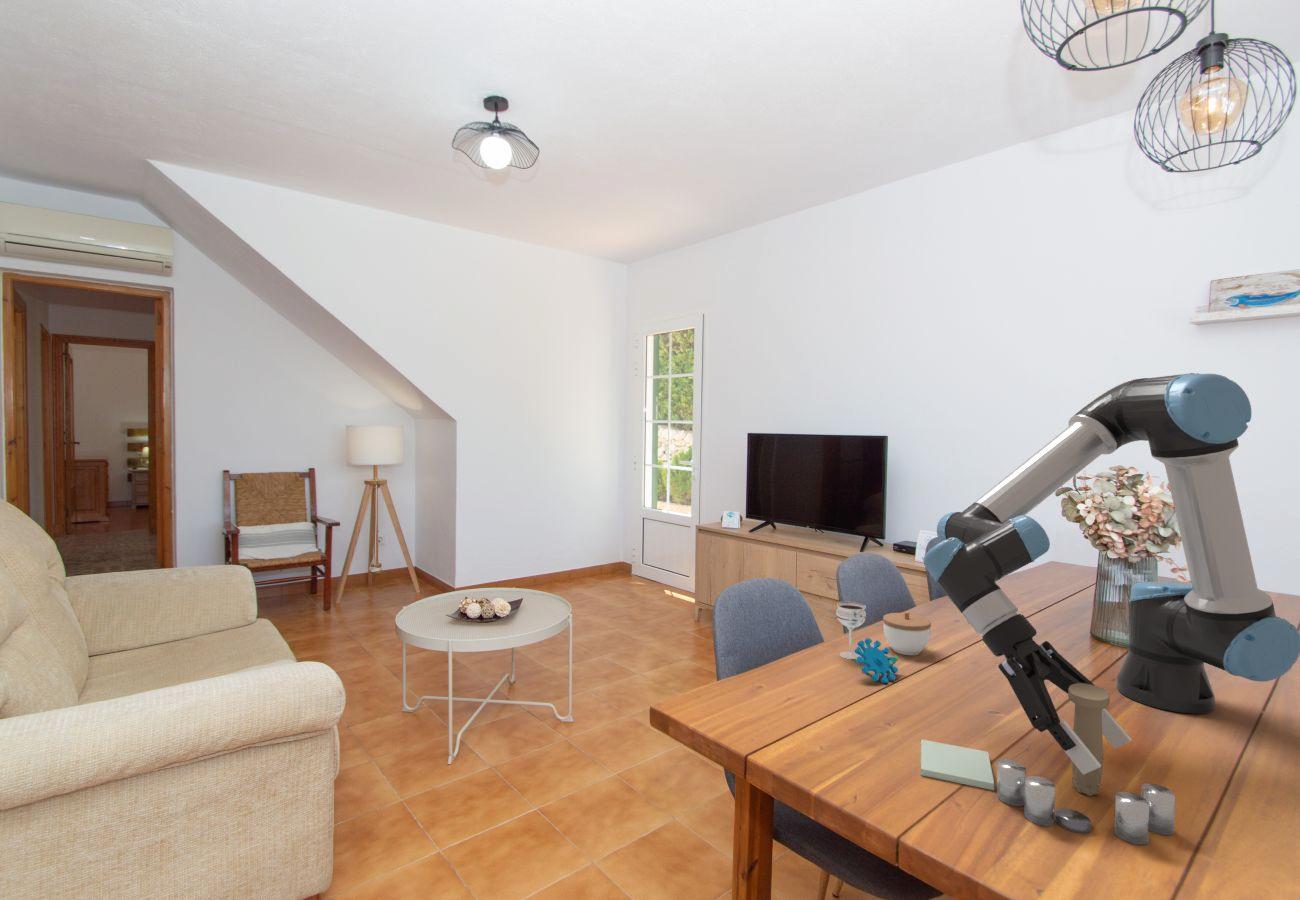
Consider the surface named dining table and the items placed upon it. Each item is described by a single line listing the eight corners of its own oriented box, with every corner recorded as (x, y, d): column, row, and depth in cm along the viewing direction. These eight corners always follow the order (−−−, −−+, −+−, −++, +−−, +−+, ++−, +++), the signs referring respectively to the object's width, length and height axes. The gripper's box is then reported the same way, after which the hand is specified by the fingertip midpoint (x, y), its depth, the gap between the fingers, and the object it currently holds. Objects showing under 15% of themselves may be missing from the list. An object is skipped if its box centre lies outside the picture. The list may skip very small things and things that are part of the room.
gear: (868, 680, 129) (851, 636, 135) (853, 692, 132) (836, 648, 139) (911, 680, 132) (892, 637, 139) (894, 692, 136) (877, 649, 143)
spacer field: (1168, 822, 85) (1169, 787, 85) (1190, 859, 78) (1192, 820, 78) (995, 787, 93) (996, 754, 93) (1001, 816, 86) (1002, 781, 86)
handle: (1061, 793, 92) (1064, 693, 91) (1071, 775, 97) (1074, 680, 96) (1101, 807, 89) (1104, 703, 88) (1109, 788, 93) (1112, 689, 93)
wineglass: (850, 663, 143) (851, 611, 142) (829, 653, 149) (829, 603, 148) (871, 657, 146) (872, 607, 145) (850, 648, 152) (850, 600, 151)
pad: (987, 757, 102) (987, 751, 102) (994, 790, 93) (994, 783, 92) (921, 745, 106) (921, 739, 106) (920, 775, 97) (920, 768, 97)
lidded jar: (881, 655, 148) (882, 616, 147) (883, 640, 158) (883, 604, 157) (931, 661, 144) (932, 621, 143) (929, 646, 154) (930, 609, 153)
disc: (1085, 820, 86) (1086, 812, 86) (1094, 838, 82) (1094, 829, 82) (1052, 814, 87) (1052, 805, 87) (1058, 831, 84) (1059, 822, 84)
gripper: (1015, 622, 111) (1115, 742, 99) (945, 650, 97) (1052, 794, 85) (1049, 600, 107) (1158, 723, 95) (981, 626, 93) (1099, 773, 81)
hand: (1108, 757), depth 90 cm, fingers open, 11 cm apart
